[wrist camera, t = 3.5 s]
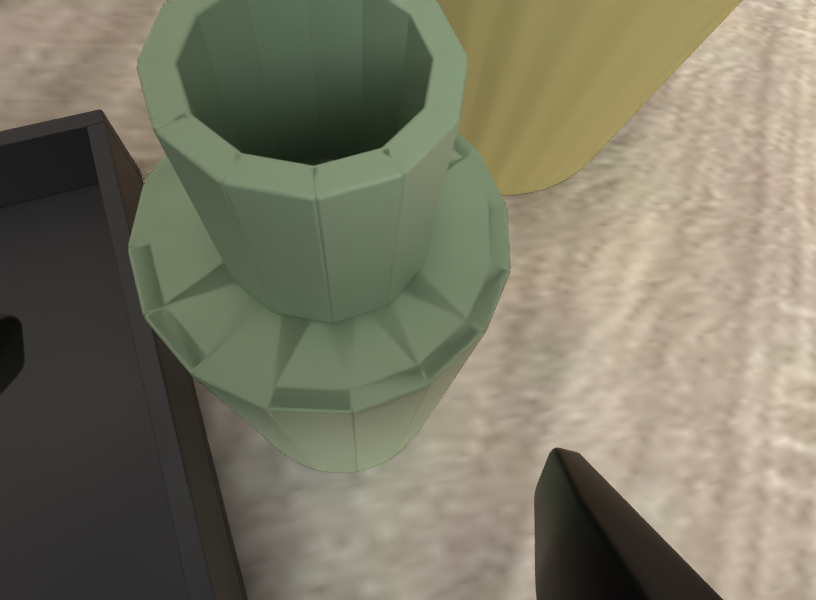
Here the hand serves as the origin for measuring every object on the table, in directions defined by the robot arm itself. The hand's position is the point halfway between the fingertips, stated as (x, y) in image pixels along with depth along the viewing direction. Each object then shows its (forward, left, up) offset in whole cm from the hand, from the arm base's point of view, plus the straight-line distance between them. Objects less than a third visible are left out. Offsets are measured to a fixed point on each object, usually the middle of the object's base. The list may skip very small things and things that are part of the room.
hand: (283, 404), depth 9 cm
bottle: (+2, -2, -10) cm, 10 cm away
